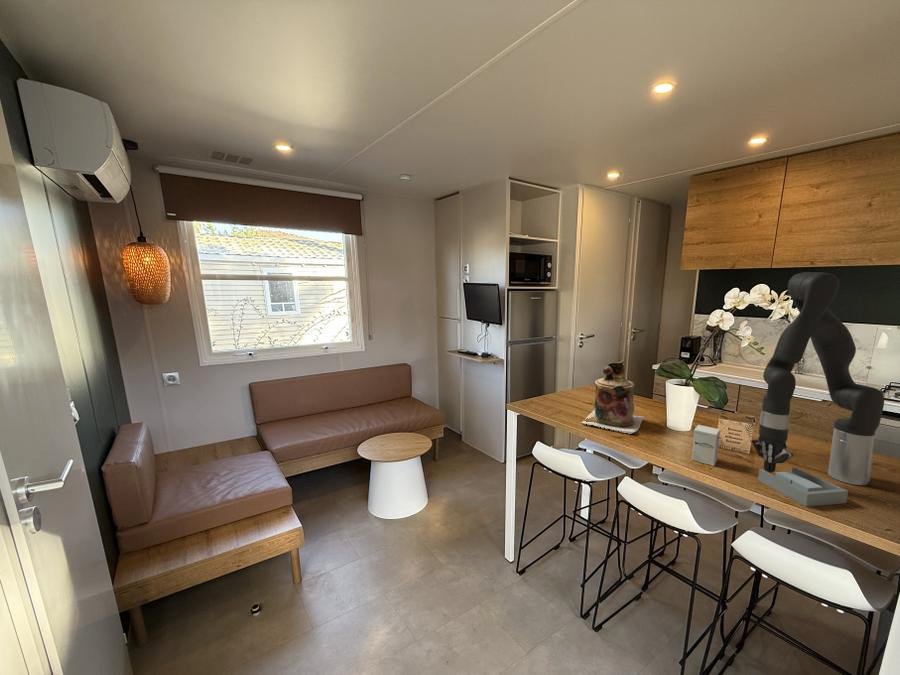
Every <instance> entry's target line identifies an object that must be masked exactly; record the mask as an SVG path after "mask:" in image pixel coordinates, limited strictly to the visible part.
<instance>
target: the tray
mask: <svg viewBox="0 0 900 675" xmlns="http://www.w3.org/2000/svg"><path fill="white" fill-rule="evenodd" d="M791 473H794V474H796V475H798V476H800V477H802V478H804V479H807V480H809V481H811V482H813V483H815V484H817V485H819V486H821V487H823V489H822V491H811V492H806V491H804V490H802V489H800V488H798V487H796V486H794V485H792V484H790V483H788V482H786V481H784V480H782V479H780V478H778V477H776V476H775V475H774V474H772V473H769V472H767V471H765V470H764V468H763V469H759V470H758V476H757V481H758V482H760V483H762V484H763V485H766V487H770V488H771V489H773V490H775V491H777V492H778V493H780V494H782V495H784V496H785V497H787V498H789V499H791V500H793V501H795V502H796V503H799V504H800V505H801V506H804V507H815V506H816V507H817V506H819V507H820V506H828V505H830V506H831V505H841V504H847V503H848V502H847V501H848V495H849V490H847V489H845V488H843V487H842V486H841V487H840V486H838V485H837V484H834V483H832V482H830V481H827V480H826V479H823V478H821V477H819V476H816V475H814V474H812V473H810V472H808V471H806V470H803V469H802V468H799V467H797V466H792V468H791Z"/></svg>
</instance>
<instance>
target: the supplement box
mask: <svg viewBox="0 0 900 675" xmlns="http://www.w3.org/2000/svg"><path fill="white" fill-rule="evenodd" d="M720 436H721V429H719V428H715V427H709V426H707V425H706V426H705V425H701V424H697V426H695V428H694V430H693V439H692V440H693V441H692V450H691V451H692V453H691V461H695V462H699V463H703V464H706V465H709V466H712V467H715V464H716V463H717V461H718V456H719V455H718V454H719V447H720Z"/></svg>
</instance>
